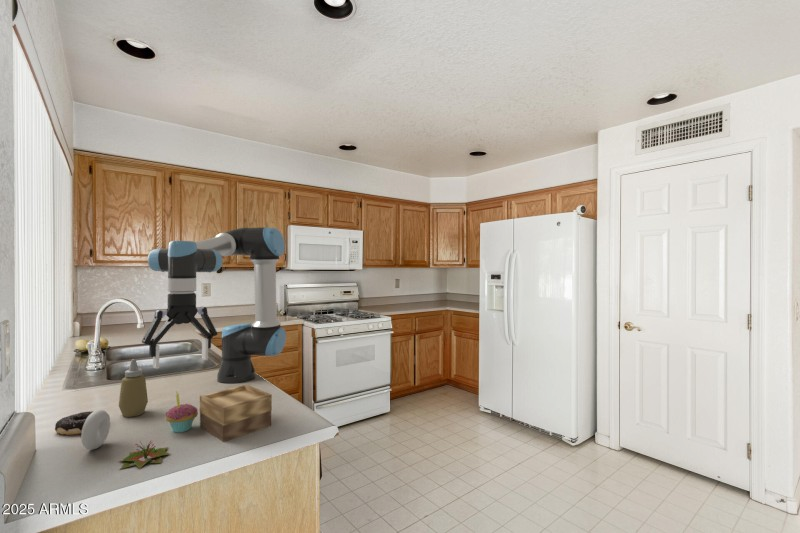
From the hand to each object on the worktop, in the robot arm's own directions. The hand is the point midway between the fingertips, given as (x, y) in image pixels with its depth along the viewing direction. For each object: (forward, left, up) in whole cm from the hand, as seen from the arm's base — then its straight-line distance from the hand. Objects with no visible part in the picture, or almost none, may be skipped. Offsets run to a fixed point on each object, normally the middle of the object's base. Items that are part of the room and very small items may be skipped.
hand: (181, 363), depth 119 cm
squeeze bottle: (+6, -24, -20) cm, 32 cm away
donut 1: (+20, -23, -20) cm, 37 cm away
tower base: (-12, +10, -20) cm, 25 cm away
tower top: (-12, +10, -15) cm, 22 cm away
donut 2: (+20, -4, -20) cm, 28 cm away
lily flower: (+13, +12, -21) cm, 27 cm away
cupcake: (0, 0, -20) cm, 20 cm away
